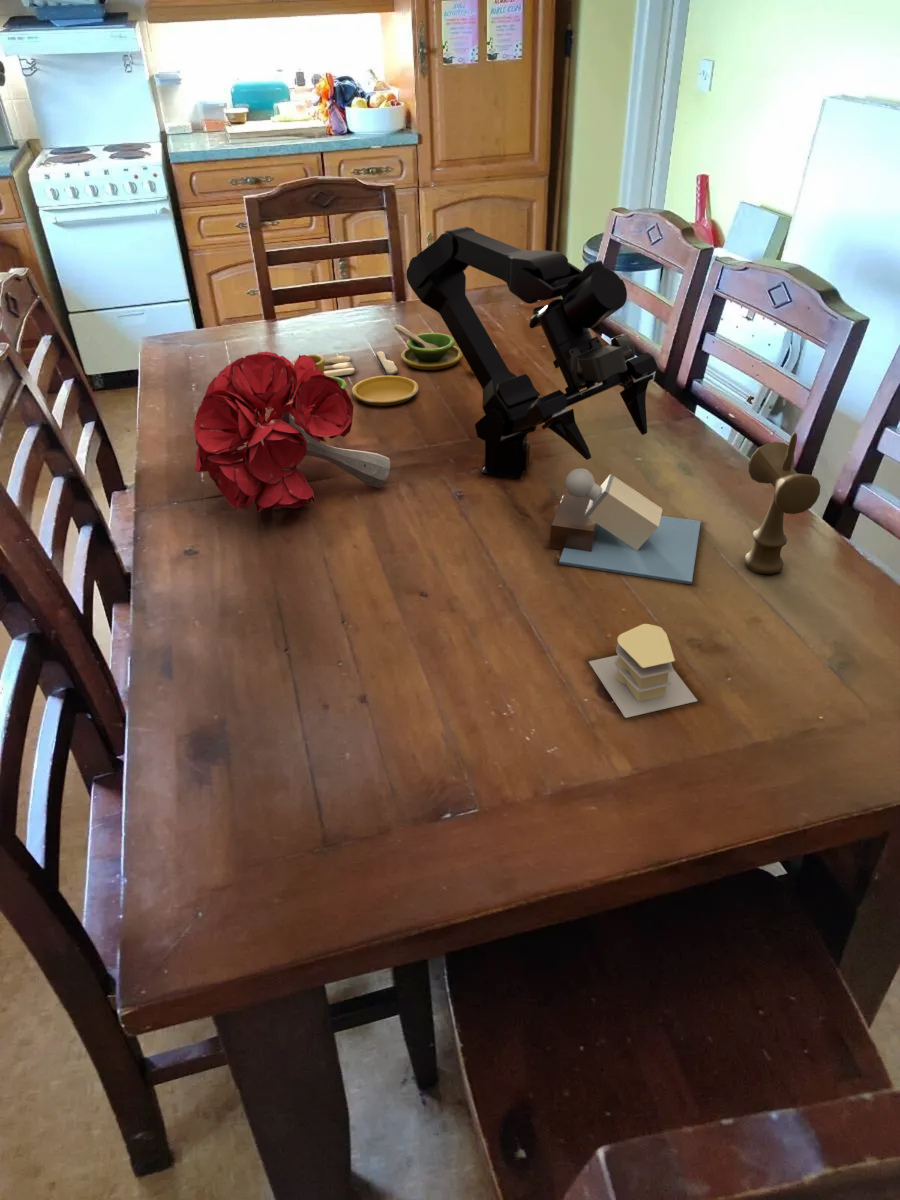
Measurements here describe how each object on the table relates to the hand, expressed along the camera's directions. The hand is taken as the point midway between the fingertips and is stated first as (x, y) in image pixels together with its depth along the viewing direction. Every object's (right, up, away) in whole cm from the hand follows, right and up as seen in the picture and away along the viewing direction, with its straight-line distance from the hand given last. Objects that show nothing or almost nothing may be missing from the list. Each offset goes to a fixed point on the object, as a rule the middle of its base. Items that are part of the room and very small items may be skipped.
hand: (617, 446), depth 119 cm
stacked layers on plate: (-1, -31, -20) cm, 37 cm away
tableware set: (-35, +23, +54) cm, 68 cm away
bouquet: (-47, -5, +16) cm, 50 cm away
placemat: (+3, -13, +4) cm, 14 cm away
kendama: (+20, -17, -2) cm, 26 cm away
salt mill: (0, -12, +4) cm, 13 cm away
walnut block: (-5, -12, +6) cm, 14 cm away
